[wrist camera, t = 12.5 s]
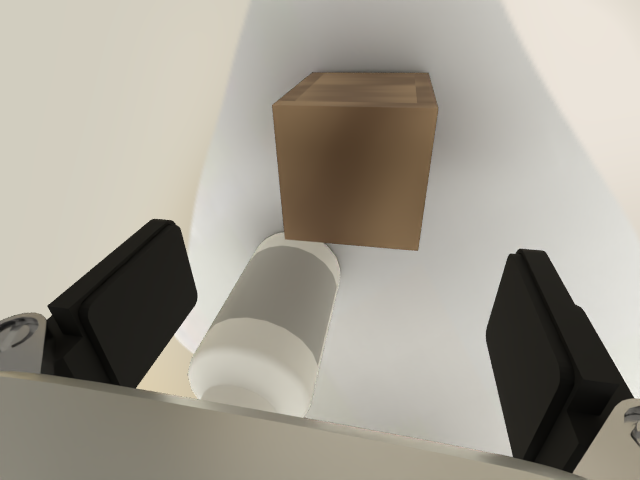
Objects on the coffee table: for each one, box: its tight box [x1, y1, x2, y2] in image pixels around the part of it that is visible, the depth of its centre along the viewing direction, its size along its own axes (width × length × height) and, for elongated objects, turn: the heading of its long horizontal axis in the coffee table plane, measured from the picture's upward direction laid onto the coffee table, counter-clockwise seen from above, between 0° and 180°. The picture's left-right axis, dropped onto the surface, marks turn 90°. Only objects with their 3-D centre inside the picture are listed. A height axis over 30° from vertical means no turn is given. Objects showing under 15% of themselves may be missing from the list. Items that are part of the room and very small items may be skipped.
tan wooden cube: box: [272, 72, 438, 251], centre depth 18 cm, size 6×6×7 cm
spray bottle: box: [188, 232, 341, 418], centre depth 21 cm, size 7×7×18 cm
